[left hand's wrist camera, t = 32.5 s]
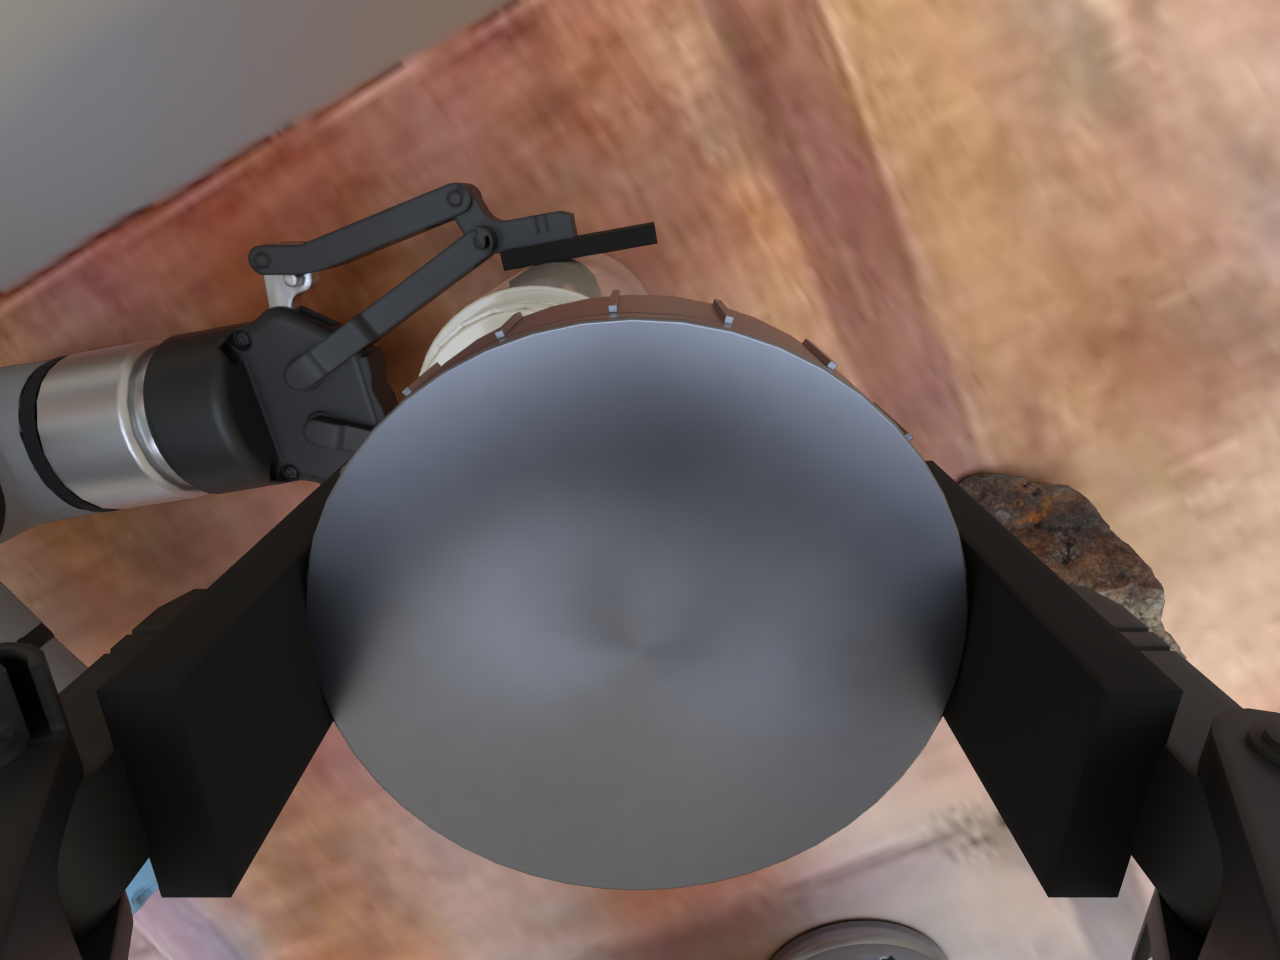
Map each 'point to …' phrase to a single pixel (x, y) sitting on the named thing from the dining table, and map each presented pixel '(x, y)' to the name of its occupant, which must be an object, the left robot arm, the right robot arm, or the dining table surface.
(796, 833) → the lid
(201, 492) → the right robot arm
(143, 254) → the dining table surface
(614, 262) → the jar
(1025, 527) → the rock
